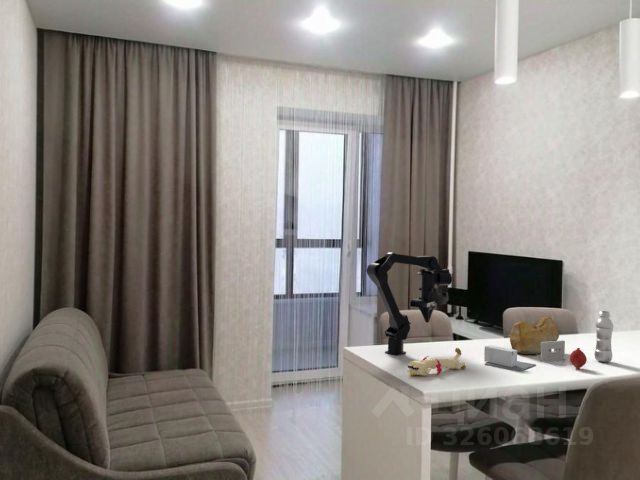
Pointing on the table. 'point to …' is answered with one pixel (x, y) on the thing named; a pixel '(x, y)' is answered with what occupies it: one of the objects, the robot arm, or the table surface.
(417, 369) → the cat figure
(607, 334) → the plastic bottle
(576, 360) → the onion
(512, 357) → the skincare box
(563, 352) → the cassette
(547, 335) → the rough brown rock
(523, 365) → the felt mat
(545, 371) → the table surface
